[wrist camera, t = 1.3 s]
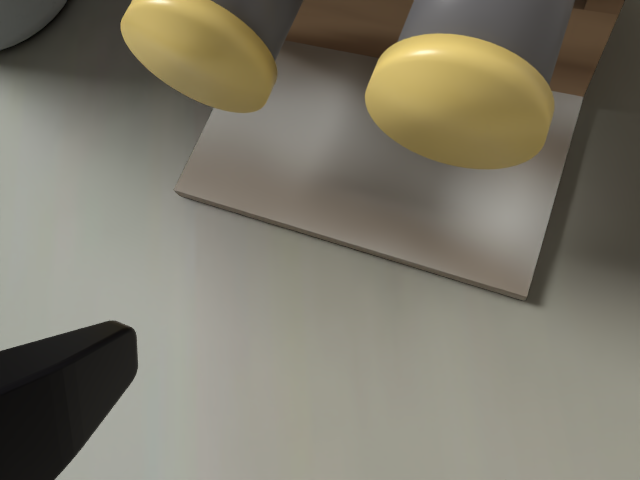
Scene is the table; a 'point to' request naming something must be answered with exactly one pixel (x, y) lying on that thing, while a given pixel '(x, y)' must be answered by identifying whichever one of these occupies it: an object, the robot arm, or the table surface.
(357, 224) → the console
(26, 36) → the water bottle
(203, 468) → the table surface
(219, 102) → the knob left
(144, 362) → the table surface
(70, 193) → the table surface
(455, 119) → the knob right
